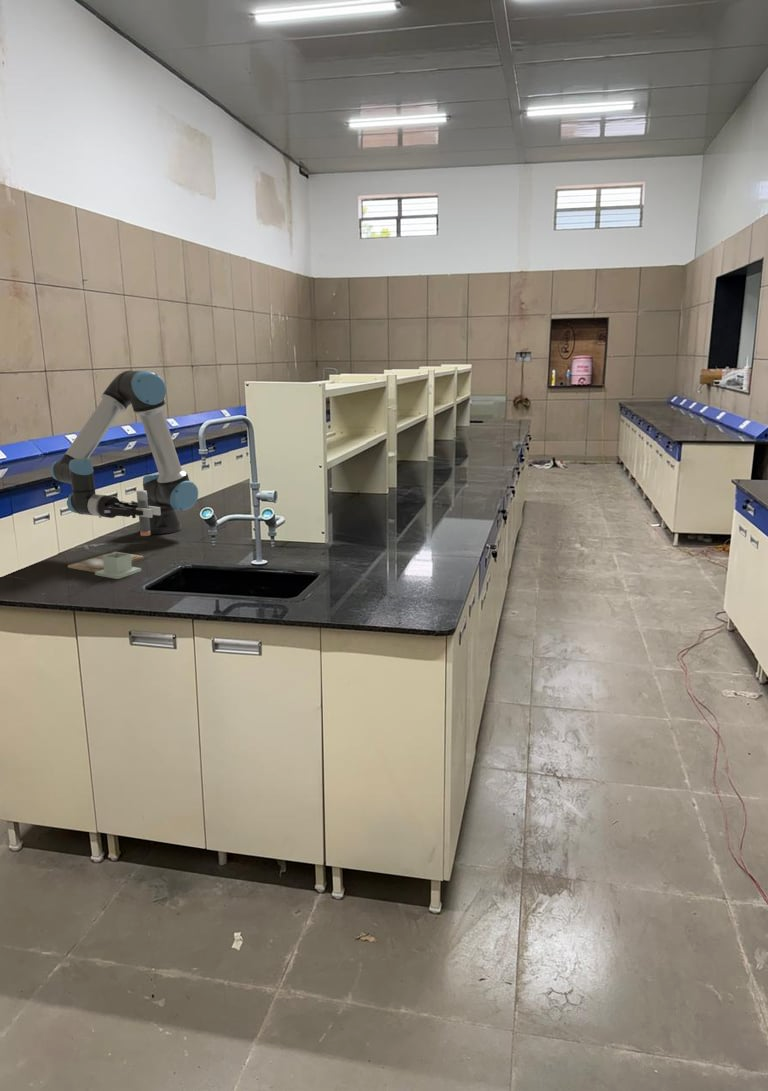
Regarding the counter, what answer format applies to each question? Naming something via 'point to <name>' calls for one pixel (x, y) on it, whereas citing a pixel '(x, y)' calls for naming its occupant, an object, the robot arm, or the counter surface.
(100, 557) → the clipboard
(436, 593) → the counter surface
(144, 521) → the marker
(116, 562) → the square socket holder
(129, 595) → the counter surface
